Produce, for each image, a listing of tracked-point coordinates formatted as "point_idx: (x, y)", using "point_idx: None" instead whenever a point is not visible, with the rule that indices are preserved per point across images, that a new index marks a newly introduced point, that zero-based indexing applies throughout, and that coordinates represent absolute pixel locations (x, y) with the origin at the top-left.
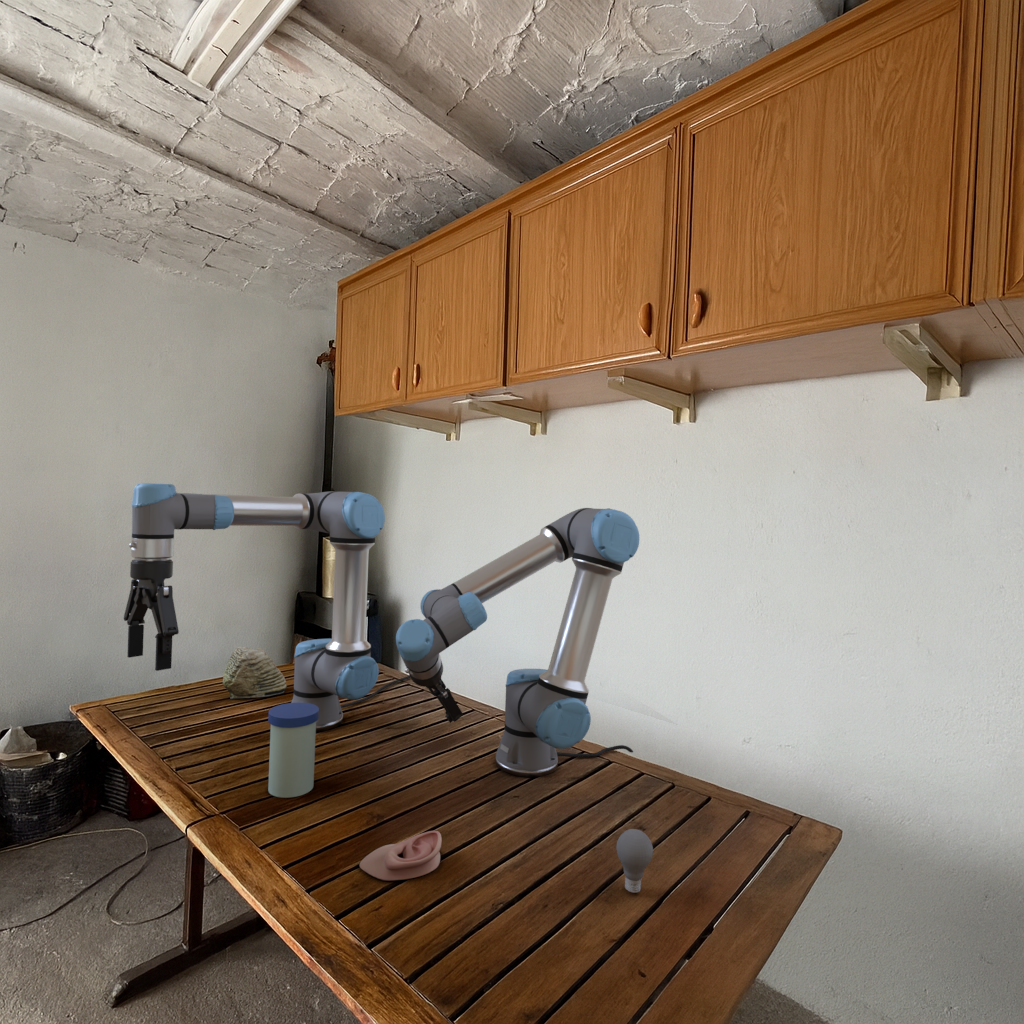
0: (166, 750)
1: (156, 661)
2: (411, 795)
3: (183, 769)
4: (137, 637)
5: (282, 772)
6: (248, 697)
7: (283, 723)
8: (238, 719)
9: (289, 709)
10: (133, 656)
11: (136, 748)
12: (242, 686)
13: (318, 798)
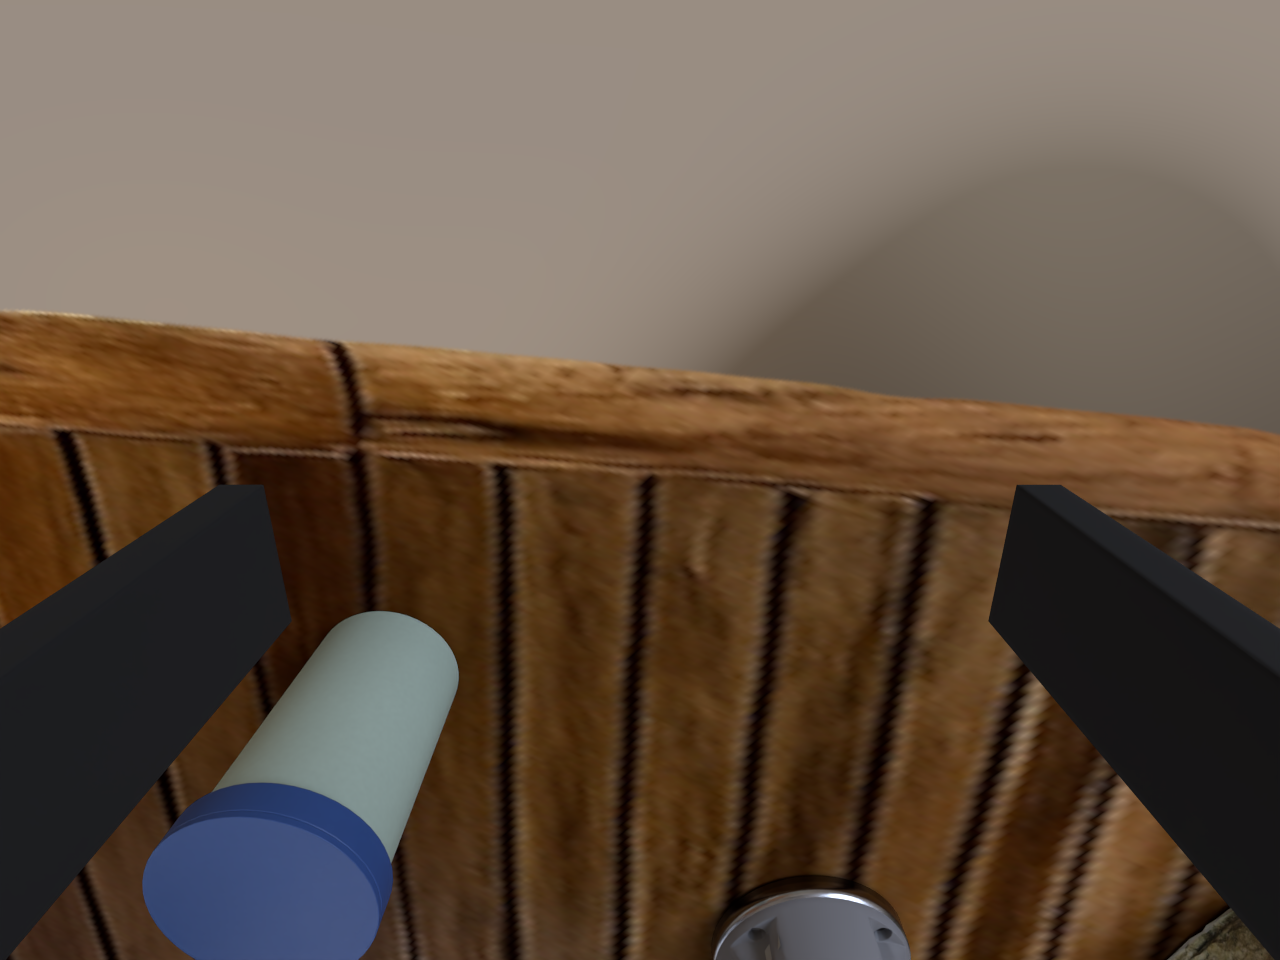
0: (991, 540)
1: (175, 530)
2: (132, 844)
3: (776, 511)
4: (1151, 716)
5: (305, 671)
6: (1208, 926)
7: (189, 812)
8: (1047, 816)
9: (283, 897)
10: (1010, 534)
11: (1107, 473)
12: (1253, 956)
13: (268, 685)
